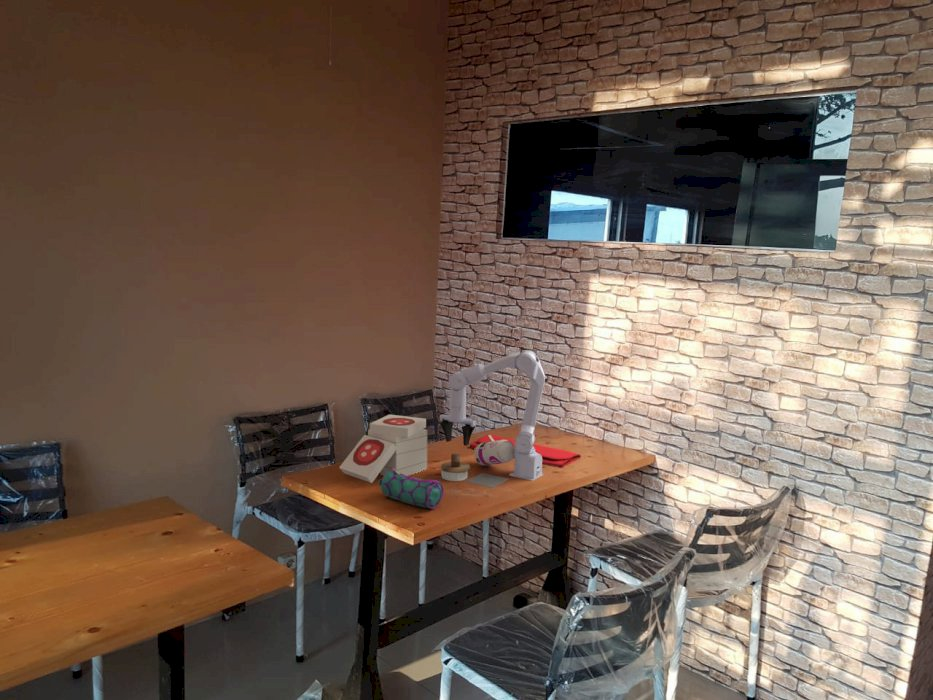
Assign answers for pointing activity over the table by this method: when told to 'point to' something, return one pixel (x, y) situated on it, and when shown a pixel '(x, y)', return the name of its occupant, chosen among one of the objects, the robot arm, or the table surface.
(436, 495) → the pencil case
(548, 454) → the dish drying mat
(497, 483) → the mat
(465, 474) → the bowl
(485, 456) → the supplement can
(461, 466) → the lid
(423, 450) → the pizza boxes
